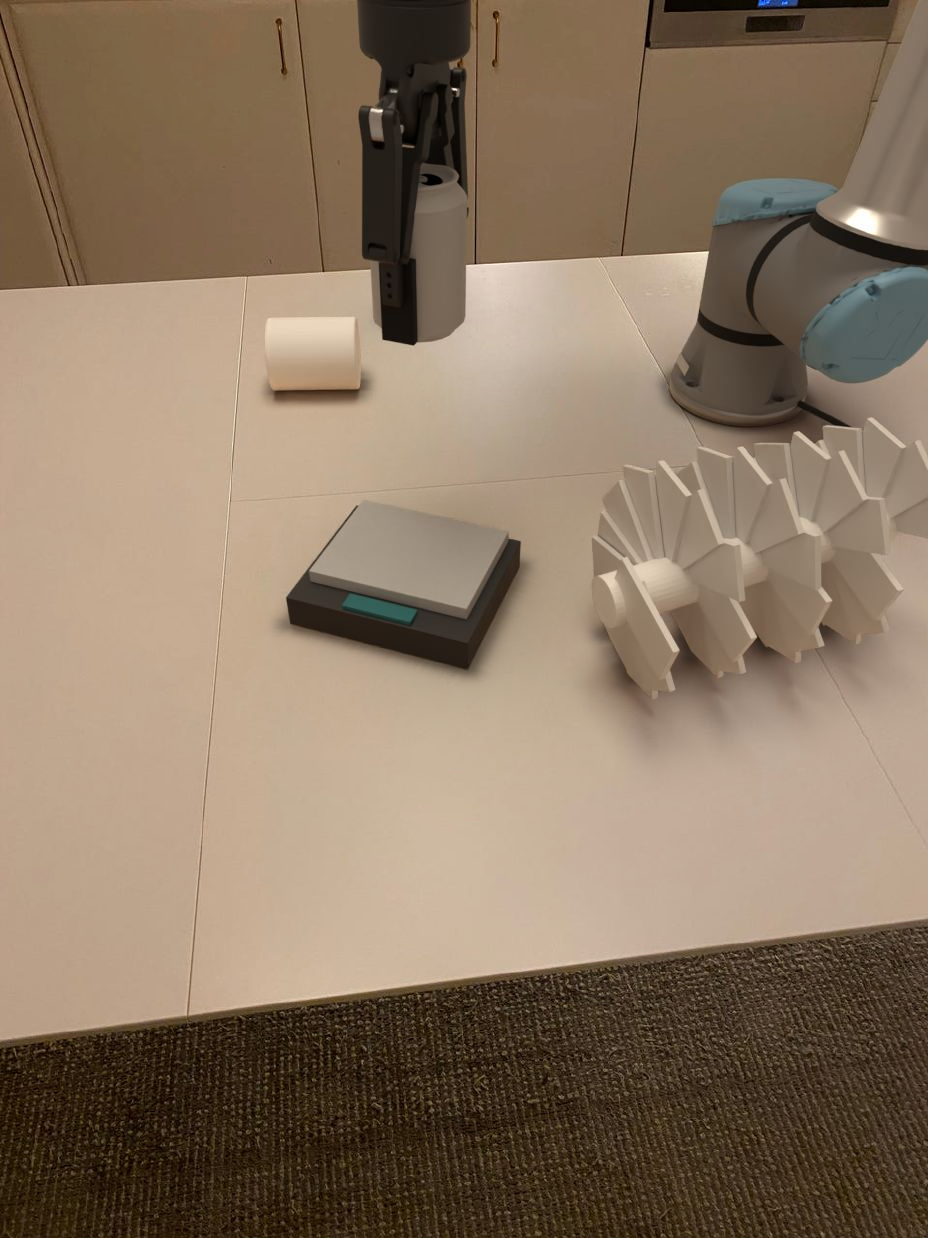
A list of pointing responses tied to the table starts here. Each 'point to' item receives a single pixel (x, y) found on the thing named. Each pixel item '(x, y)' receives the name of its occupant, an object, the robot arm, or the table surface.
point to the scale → (408, 583)
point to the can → (436, 256)
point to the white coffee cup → (313, 353)
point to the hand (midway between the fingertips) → (420, 319)
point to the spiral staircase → (756, 548)
